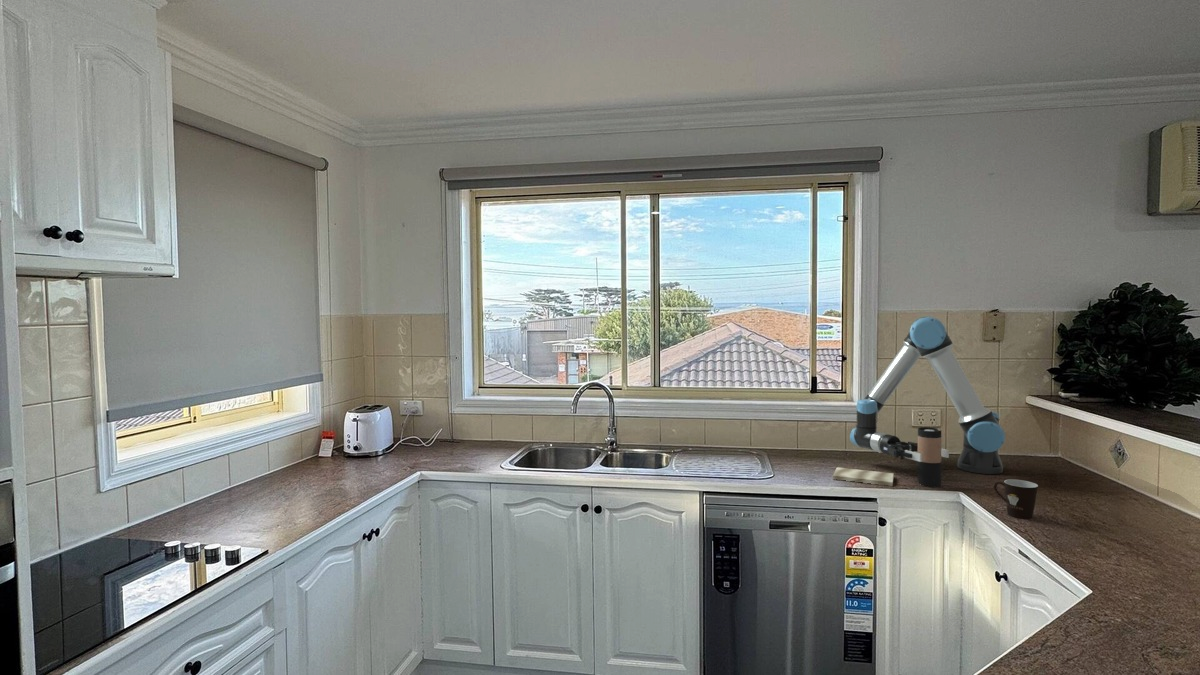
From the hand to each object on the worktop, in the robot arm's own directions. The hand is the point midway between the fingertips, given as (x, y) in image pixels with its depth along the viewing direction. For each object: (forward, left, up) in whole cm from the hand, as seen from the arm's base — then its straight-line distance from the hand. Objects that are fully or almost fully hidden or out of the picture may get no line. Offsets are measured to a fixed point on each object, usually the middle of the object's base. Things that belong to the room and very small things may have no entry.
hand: (934, 456), depth 218 cm
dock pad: (+23, 0, -11) cm, 26 cm away
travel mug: (+2, -2, -11) cm, 11 cm away
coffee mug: (-22, +22, -11) cm, 33 cm away
